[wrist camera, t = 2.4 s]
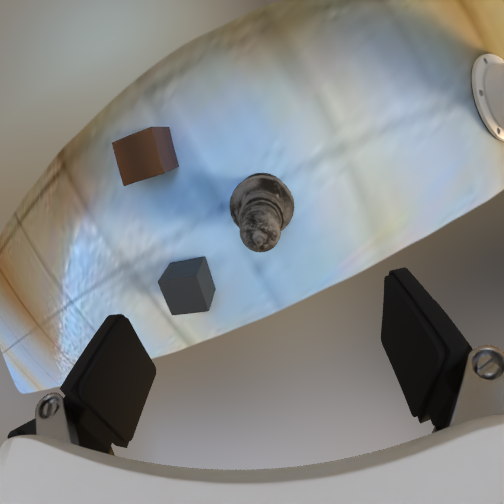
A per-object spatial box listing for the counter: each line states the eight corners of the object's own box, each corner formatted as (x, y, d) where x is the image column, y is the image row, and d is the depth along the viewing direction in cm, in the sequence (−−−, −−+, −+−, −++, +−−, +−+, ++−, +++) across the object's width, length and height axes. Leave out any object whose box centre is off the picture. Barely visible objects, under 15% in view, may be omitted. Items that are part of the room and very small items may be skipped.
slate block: (205, 256, 31) (196, 275, 27) (215, 289, 33) (208, 311, 29) (170, 262, 32) (157, 281, 28) (182, 294, 34) (172, 315, 30)
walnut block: (168, 126, 25) (152, 126, 21) (179, 166, 27) (164, 173, 23) (132, 140, 26) (111, 142, 22) (142, 177, 28) (123, 186, 24)
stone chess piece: (242, 230, 30) (228, 290, 19) (227, 177, 27) (201, 210, 17) (296, 218, 29) (313, 273, 18) (283, 164, 27) (296, 187, 16)
